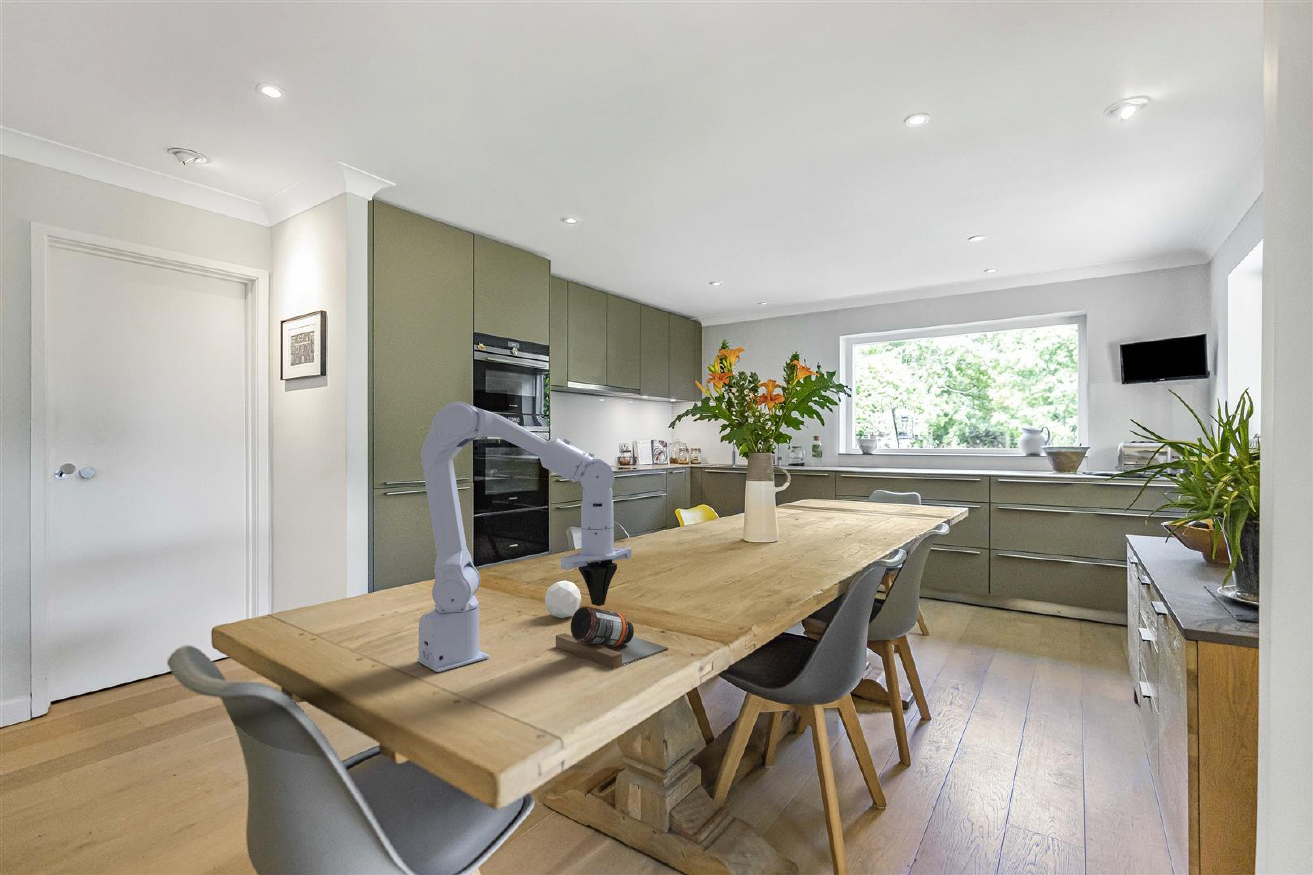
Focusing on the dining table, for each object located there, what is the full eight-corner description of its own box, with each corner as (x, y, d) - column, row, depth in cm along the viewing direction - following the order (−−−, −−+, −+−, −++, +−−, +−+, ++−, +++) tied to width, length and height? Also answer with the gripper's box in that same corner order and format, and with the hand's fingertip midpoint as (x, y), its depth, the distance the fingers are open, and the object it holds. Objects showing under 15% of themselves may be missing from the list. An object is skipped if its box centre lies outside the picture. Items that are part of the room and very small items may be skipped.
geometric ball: (566, 632, 126) (561, 608, 121) (540, 613, 130) (534, 589, 125) (590, 608, 131) (586, 584, 126) (564, 591, 135) (560, 567, 130)
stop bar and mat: (612, 668, 97) (612, 656, 97) (555, 646, 109) (555, 635, 109) (668, 649, 106) (668, 638, 106) (610, 630, 118) (610, 620, 118)
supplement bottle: (570, 607, 105) (615, 617, 113) (567, 642, 102) (614, 651, 110) (593, 603, 102) (638, 614, 109) (590, 639, 99) (637, 648, 106)
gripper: (578, 534, 98) (579, 617, 98) (642, 525, 108) (643, 600, 108) (553, 530, 103) (554, 609, 103) (617, 522, 113) (617, 594, 113)
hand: (598, 604), depth 105 cm, fingers closed
